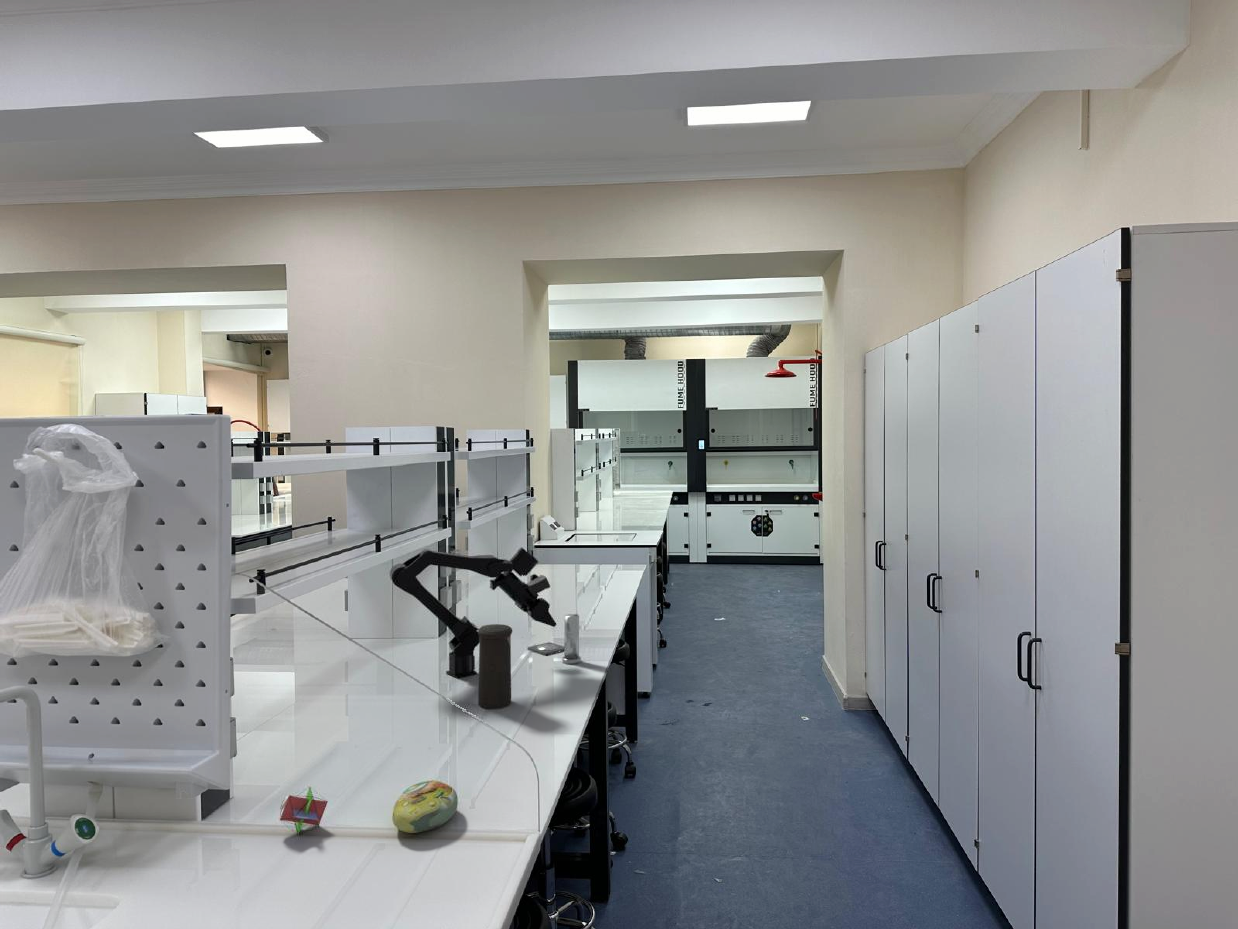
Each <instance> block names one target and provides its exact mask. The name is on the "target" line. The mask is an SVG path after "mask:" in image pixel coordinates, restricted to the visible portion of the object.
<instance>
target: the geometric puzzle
mask: <svg viewBox="0 0 1238 929" xmlns="http://www.w3.org/2000/svg"><path fill="white" fill-rule="evenodd" d="M306 788H307V789H305V788H304V789H302V791H303V792H304V791H306V790H308V791H307V794H306V795H305V798H304V797H301V796H299V795H300V794H302V792H300V793H299V794H297V795H296V796H295V795H286V797H285V798H284V799H283V800H282V802H281V805H280V808H279V809H280V813H279V821H281V822H283V823H284V822H285V823H287V824H288V823H289V824H290V825H295V830H296V832H294V830H292V832H294V834H296V835H297V837H299V836H300V835H302V833H305V831H308V830H309V828H311V827H312V826H318V825H319V826H320V823H321V821H322V818H323V815H324V812H325V810H326V807H327V804H328V802H329V801H328V800H326V799H324V797H323V796H321V795H320V797H321V798H323V799H321V798H319V797H316V796H314V795H313V792H312V787H306ZM314 792H316V793H317V791H316V790H314ZM296 793H298V791H296V792H295V794H296ZM314 798H316V799H314ZM318 799H319V800H318ZM292 822H293V823H292ZM304 824H305V825H309V827H308V828H306V829H305V830H303V831H302V832H300V831H301V829H302V826H303V825H304ZM285 826H287V825H286V824H285ZM287 827H288V826H287ZM288 828H289V827H288Z"/></svg>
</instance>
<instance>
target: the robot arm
mask: <svg viewBox="0 0 1238 929" xmlns="http://www.w3.org/2000/svg"><path fill="white" fill-rule="evenodd" d="M538 563H539V560H538V559H537V558H536V557H535V556H534V555H532V554H531V553H529V551H527V550H525V549H524V547H522V546H521V547H519V549H518V550H517V552H516V553H515V554H514V555H513V556H512V557H511V558H510V559H509V560H508V559H506V558H505V559H503V558H502V559H501V558H498V557H497V556H494V555H492V554H481V555H480V554H478V555H466V554H465V555H464V554H458V553H457V554H456V553H451V552H443V551H437V550H432V549H428V548H425V549H423V550H421V552H419V553H418V554H415V555H413V556H412V557H411V558H409V559H407V560H405V561H404V562H402V563H397V564H395V565H393V566H392V567H391V569H390V571H389V578H390V581H391V582H392V583H393V585H394V586H395V587H397V588H398V589H400V590H402V591H403V592H405V593H407V594H409V595H411V596H412V597H414V598H415V599H416V600H417V601H418V602H420V603H421V605H423V606H424V607H425V608H427V610H428V611H429V612H430V613H431V614H432V615H434V616H435V617H436V618H437V619H438V620H439V621H441V623H443V624H444V625H445V626H446V627H447V628H448V629H449V630H450V632H452V634H453V637H452V639H451V640H450V641H448V646H449V649H450V650H451V652H449V653H448V670H446V671H445V673H446V674H448V675H449V676H452V677H454V678H456V679H461V678H463V677H468V676H472V675H476V674H477V671H476V670H475V669H476V657H475V655H474V651H475V648H476V647H478V646H479V637H480V636H479V634H478V630H479V628H478V627H477V625H475V624H474V623H473V622H470V620H469V619H468V617H466V615H463V617H462V618H460V617H459V616H456V615H455V614H454V613H453V612H452V611H451V610H450V609H449V608H448V607H447V606H445V605H444V604H443V603H442V602H441V601H440V600H439V599H438V598H436V597H435V595H433V594H432V593H431V592H430V591H429V590H428V589H427V588H426V587H425V586H424V585H423V584H422V582H420V581H419V579H418V576H419V575H420V574H421V573H422V572H423V571H425V570H426V569H427V568H428V567H429V566H437V567H445V568H452V569H457V570H458V569H459V570H467V571H471V572H474V573H476V574H479V575H481V576H484V577H488V578H491V579H490V580H489V589H491V591H495V590H496V589H497V588H500V590H502V591H503V593H504V594H505V595H507V597H508V598H510V599H511V600H512V601H513V602H514V605H516V607H517V608H518V609H520V610H521V611H523V612H525V613H526V614H527V616H529V617H530V618H531V619H532V620H533V621H535V622H538V623H541V624H545V625H548V626H551V627H554V628H555V627H557V623H556V622H557V621H555V619H554V618H553V616H552V615H551V613H550V610H549V609H550V607H551V606H550V603H549V602H548V601H547V600H546V599H545V598H543V597H539V596H540V595H539V594H540V593H541V592H543V591H545V590H548V589H550V588H551V584H550V582H549V580H548V577H546V575H543V574H541V575H539V576H538V575H537V574H536V573H532V575H530V576H529V577H530V578H529V581H528V583H526V582H524V581H522V580H521V577H522V576H523V577H527V575H528V574H530V572H531V571H532V570H533V569H534V568H535V567H536V566H537V565H538ZM514 572H515V573H516V574H517V575H518V576H519V577H520V578H519V577H518V576H517V575H516V574H515V573H514ZM492 578H493V579H492ZM538 597H539V598H538Z"/></svg>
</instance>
